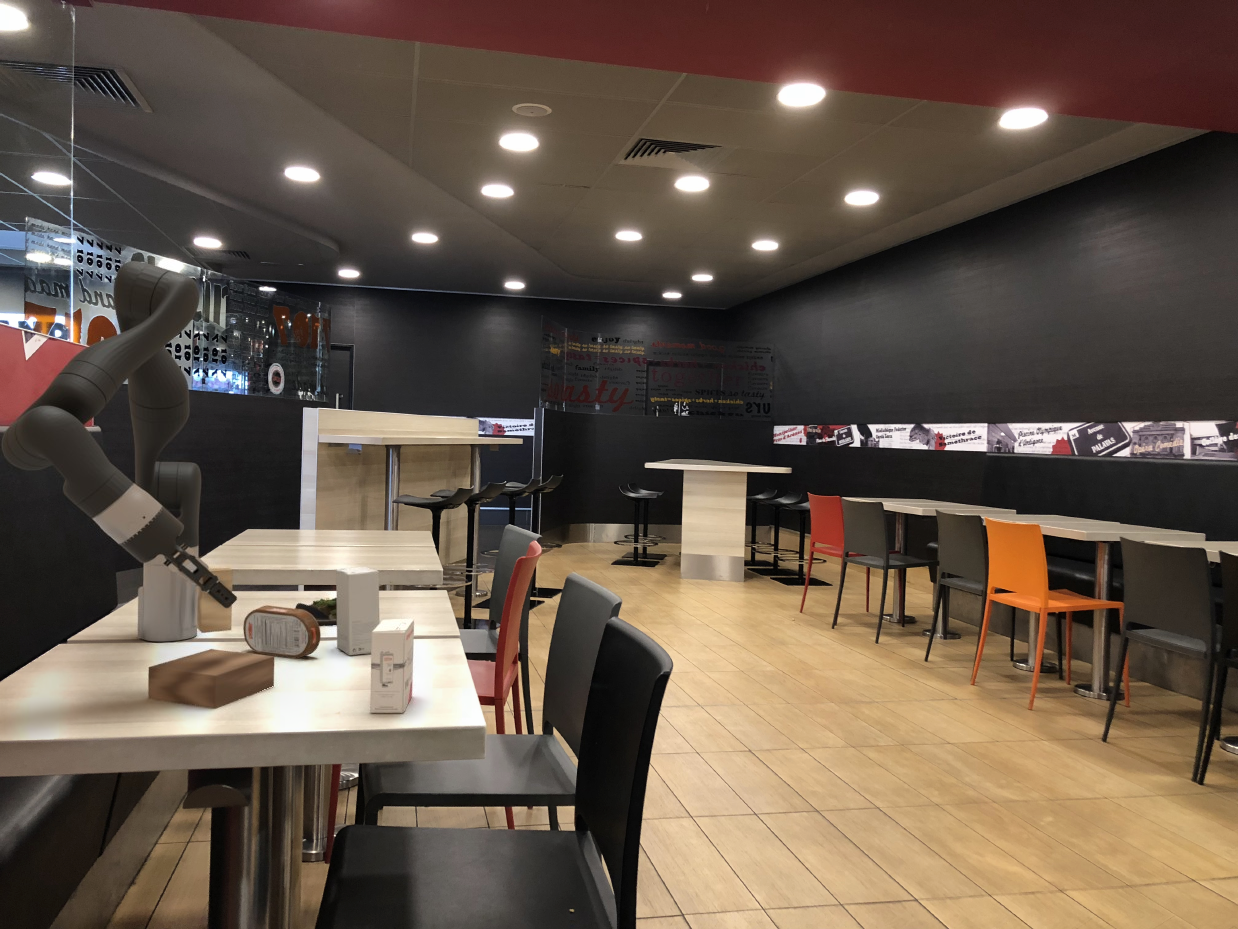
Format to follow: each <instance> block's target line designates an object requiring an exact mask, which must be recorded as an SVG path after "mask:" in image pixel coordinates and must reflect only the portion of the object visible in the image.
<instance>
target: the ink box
mask: <svg viewBox="0 0 1238 929" xmlns="http://www.w3.org/2000/svg"><path fill="white" fill-rule="evenodd" d="M414 635H415V619H414V618H397V619H394V618H393V619H382V620H381V622H379V625H378V626H377V627H376V628H375V629H374V630H373V631H372V645H371V653H370V658H371V659H370V696H369V700H370V701H369V703H370V704H369V705H370V706H369V713H371V714H400V713H401V714H404V713H405V711H406V708H407V707H408V705H409V702H410V700H411V698H412V696H413V681H414V680H413V677H414V676H413V675H414V674H413V673H414V643H415V642H414V639H415V637H414Z"/></svg>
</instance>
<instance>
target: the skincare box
mask: <svg viewBox="0 0 1238 929" xmlns="http://www.w3.org/2000/svg"><path fill="white" fill-rule="evenodd" d="M335 572H336V578H335V579H336V580H335V582H336V585H335V586H336V587H335V588H336V598H337V626H336V648H338V649H339V650H341V651H342V652H344V653H345V654H346V655H348V656H356V655H365V654H366V655H367V654H370V655H371V645H372V631H373V630H374V629H375V628H376V627H377V626H378V625H379V624H380V580H379V576H380V575H379V573H380V572H379V570H377V569H372V568H369V567H367V566H359V567H358V566H357V567H347V568H337V569H335Z"/></svg>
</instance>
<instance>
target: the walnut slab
mask: <svg viewBox="0 0 1238 929" xmlns="http://www.w3.org/2000/svg"><path fill="white" fill-rule="evenodd" d="M147 680H148V682H147V683H148V687H147V688H148V689H147V695H148V696H147V699H148V700H152V701H160V702H166V703H172V704H179V705H180V704H181V705H188V706H193V707H194V706H196V707H202V708H208V709H213V710H214V709H215V710H216V709H218V708H221V707H223V706H226V705H229V704H231V703H234V702H237V701H239V699H240V700H242V699H245V698H247V696H248V697H250V696H253V695H256V694H257V692H258V693H261V692H263V691H262V690H264V689H266V690H268V689H267V688H269V687H272V686H275V656H274V655H266V654H259V653H257V654H256V653H250V652H249V653H248V652H239V651H230V650H223V649H214V648H210V649H206V650H204V651H199V652H196V653H193V654H189V655H186V656H182V657H179V658H176V659H172V660H169V661H165V662H161V663H158V664H155V665H152V666H148V679H147ZM272 688H273V687H272ZM269 689H270V688H269ZM260 691H261V692H260ZM264 691H265V690H264ZM255 693H256V694H255Z"/></svg>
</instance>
